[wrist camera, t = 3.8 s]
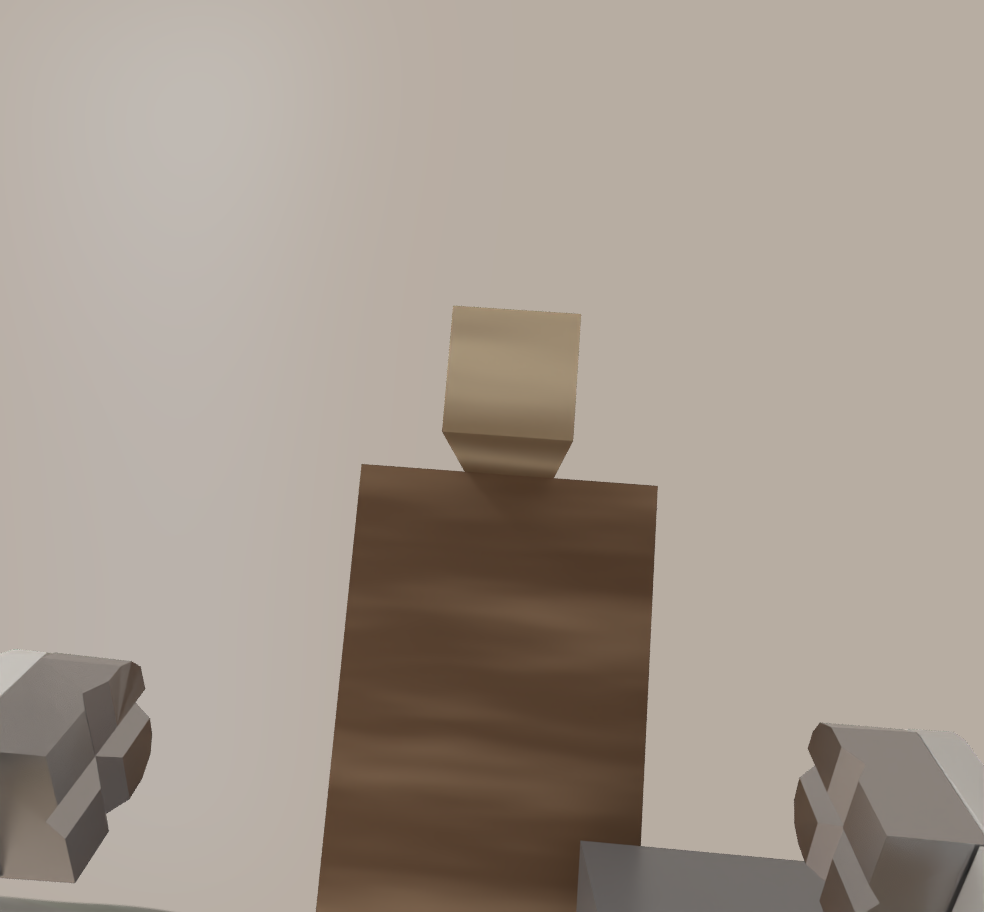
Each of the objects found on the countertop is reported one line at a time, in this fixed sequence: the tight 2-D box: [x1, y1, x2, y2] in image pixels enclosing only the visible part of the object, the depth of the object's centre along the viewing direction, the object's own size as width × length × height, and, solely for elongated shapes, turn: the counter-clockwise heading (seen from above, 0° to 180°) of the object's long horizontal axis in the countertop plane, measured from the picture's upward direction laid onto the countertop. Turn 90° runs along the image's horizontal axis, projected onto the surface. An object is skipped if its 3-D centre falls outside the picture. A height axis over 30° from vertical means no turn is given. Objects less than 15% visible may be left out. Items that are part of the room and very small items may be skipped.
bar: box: [442, 306, 581, 478], centre depth 27 cm, size 20×3×3 cm, turn 178°
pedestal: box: [316, 464, 658, 912], centre depth 29 cm, size 12×10×26 cm
